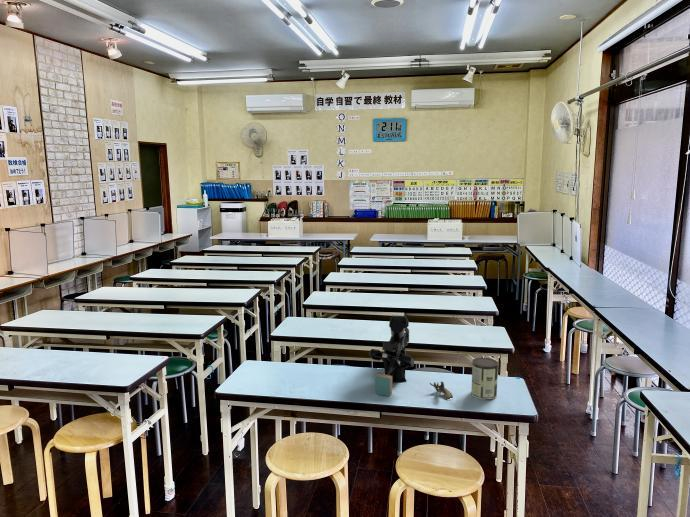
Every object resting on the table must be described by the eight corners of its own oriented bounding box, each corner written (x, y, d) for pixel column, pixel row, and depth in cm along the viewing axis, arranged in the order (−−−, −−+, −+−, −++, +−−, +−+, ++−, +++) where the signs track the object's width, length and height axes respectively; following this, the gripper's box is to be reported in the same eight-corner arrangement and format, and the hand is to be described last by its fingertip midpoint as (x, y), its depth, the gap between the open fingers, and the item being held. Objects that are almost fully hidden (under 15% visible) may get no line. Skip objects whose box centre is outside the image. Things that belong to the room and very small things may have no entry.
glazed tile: (377, 391, 212) (377, 373, 211) (392, 394, 209) (392, 375, 208) (375, 393, 210) (375, 375, 209) (389, 396, 207) (390, 378, 206)
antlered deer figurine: (426, 391, 209) (440, 396, 201) (432, 375, 211) (446, 379, 203) (438, 398, 212) (453, 403, 204) (444, 382, 214) (459, 386, 206)
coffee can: (482, 387, 216) (484, 355, 214) (502, 396, 207) (504, 363, 205) (465, 393, 210) (466, 360, 208) (484, 402, 202) (486, 368, 200)
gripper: (370, 330, 217) (359, 364, 209) (412, 337, 208) (402, 373, 201) (378, 342, 225) (367, 375, 218) (418, 349, 217) (408, 383, 209)
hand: (385, 376), depth 211 cm, fingers closed
